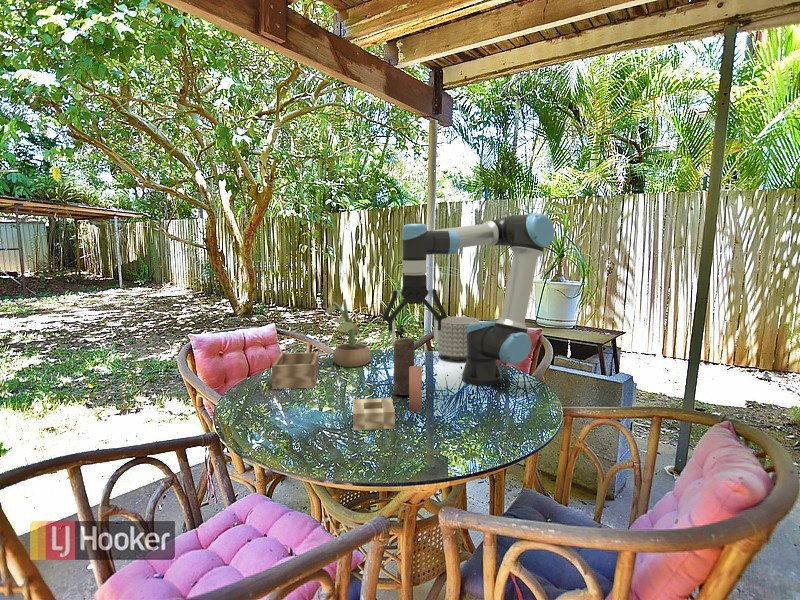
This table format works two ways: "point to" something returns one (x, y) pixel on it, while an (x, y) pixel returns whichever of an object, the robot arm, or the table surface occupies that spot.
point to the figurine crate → (295, 370)
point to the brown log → (402, 365)
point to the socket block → (373, 414)
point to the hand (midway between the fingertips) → (414, 341)
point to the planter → (454, 337)
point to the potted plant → (351, 351)
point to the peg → (415, 388)
